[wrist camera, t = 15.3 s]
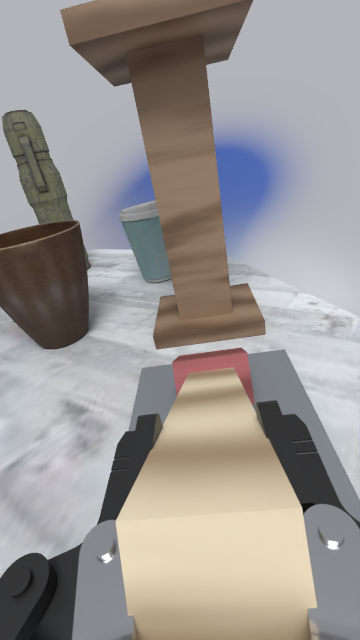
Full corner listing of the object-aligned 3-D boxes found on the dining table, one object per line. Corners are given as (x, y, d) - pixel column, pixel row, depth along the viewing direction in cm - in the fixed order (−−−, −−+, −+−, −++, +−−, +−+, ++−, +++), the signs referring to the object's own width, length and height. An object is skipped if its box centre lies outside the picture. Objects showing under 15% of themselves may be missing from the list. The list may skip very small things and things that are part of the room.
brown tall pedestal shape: (269, 343, 36) (252, -43, 20) (154, 358, 37) (60, 9, 22) (246, 289, 50) (226, 37, 34) (163, 302, 51) (109, 66, 36)
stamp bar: (397, 672, 5) (361, 446, 5) (78, 678, 6) (52, 476, 6) (247, 389, 28) (241, 347, 28) (184, 397, 29) (179, 355, 29)
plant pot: (115, 305, 54) (86, 214, 46) (108, 351, 41) (66, 233, 33) (32, 324, 53) (-11, 234, 46) (-1, 375, 40) (-69, 262, 32)
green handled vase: (59, 281, 73) (-10, 109, 56) (55, 270, 82) (-5, 121, 66) (95, 270, 75) (39, 103, 59) (86, 261, 85) (37, 115, 68)
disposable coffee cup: (127, 288, 60) (105, 211, 53) (149, 268, 69) (132, 200, 62) (175, 286, 56) (158, 203, 49) (192, 266, 65) (180, 192, 58)
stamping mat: (566, 945, 8) (582, 949, 8) (38, 908, 10) (26, 911, 10) (284, 356, 33) (284, 349, 32) (144, 374, 35) (142, 368, 34)
